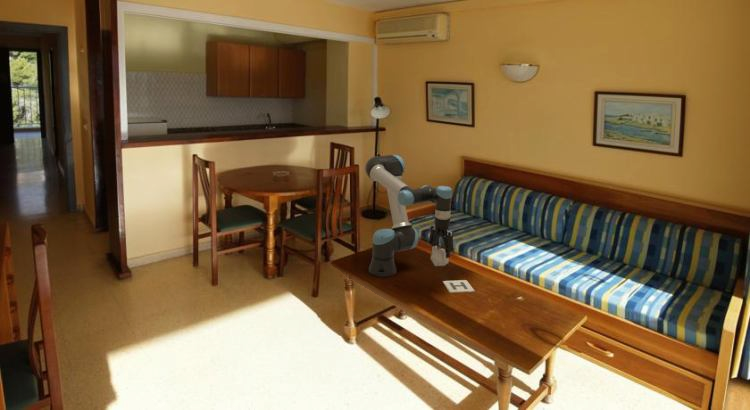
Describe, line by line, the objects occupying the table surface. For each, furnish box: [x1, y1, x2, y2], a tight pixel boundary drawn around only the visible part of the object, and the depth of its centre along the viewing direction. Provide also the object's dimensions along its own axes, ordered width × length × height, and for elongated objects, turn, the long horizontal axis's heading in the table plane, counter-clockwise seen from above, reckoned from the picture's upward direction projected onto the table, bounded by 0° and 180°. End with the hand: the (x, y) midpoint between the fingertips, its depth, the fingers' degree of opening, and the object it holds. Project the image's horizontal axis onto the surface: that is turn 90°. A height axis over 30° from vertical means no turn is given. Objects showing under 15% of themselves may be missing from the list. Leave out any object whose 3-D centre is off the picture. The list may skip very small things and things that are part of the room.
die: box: [430, 248, 447, 267], centre depth 247 cm, size 8×9×10 cm
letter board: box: [442, 279, 476, 294], centre depth 254 cm, size 13×13×1 cm
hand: (439, 260), depth 247 cm, fingers closed on die, 8 cm apart
